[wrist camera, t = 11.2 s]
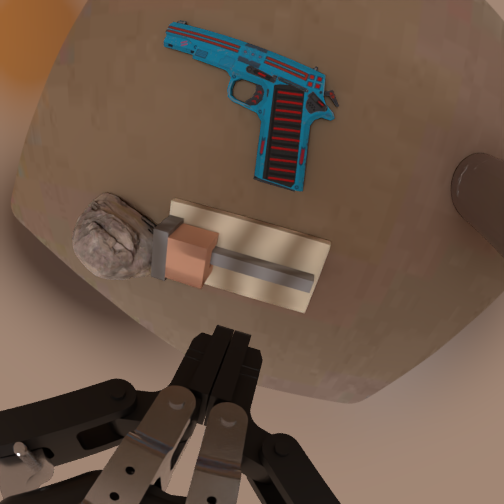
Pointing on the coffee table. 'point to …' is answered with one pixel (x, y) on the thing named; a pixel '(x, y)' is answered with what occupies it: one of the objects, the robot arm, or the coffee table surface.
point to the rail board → (249, 255)
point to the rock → (114, 239)
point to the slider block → (190, 255)
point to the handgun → (265, 98)
